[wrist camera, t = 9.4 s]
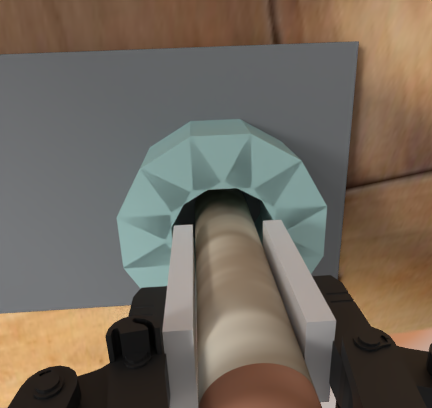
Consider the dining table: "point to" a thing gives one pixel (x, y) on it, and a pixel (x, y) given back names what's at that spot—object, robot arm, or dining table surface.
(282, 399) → the dowel
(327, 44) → the mat
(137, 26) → the dining table surface
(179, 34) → the dining table surface
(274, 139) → the bead
